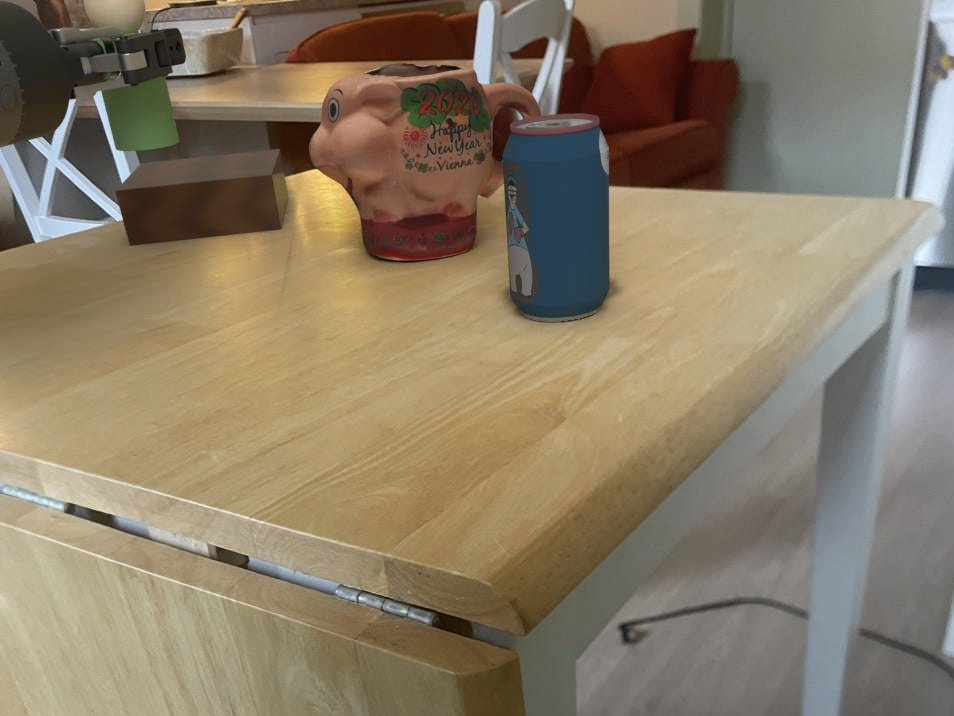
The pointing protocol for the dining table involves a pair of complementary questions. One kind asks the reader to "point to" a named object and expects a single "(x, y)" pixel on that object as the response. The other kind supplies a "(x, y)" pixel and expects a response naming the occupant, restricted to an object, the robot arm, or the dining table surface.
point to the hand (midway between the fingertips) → (149, 46)
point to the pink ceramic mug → (415, 153)
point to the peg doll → (134, 87)
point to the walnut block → (204, 197)
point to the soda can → (557, 216)
